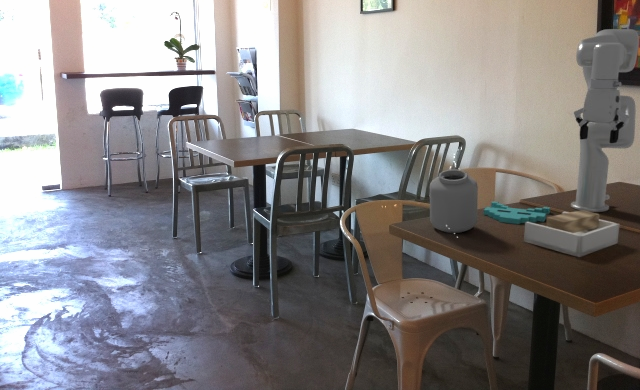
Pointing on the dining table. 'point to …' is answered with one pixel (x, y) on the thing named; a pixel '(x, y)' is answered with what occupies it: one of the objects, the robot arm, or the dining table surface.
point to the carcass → (573, 238)
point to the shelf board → (574, 221)
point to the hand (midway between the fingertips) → (598, 140)
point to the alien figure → (515, 213)
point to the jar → (453, 201)
